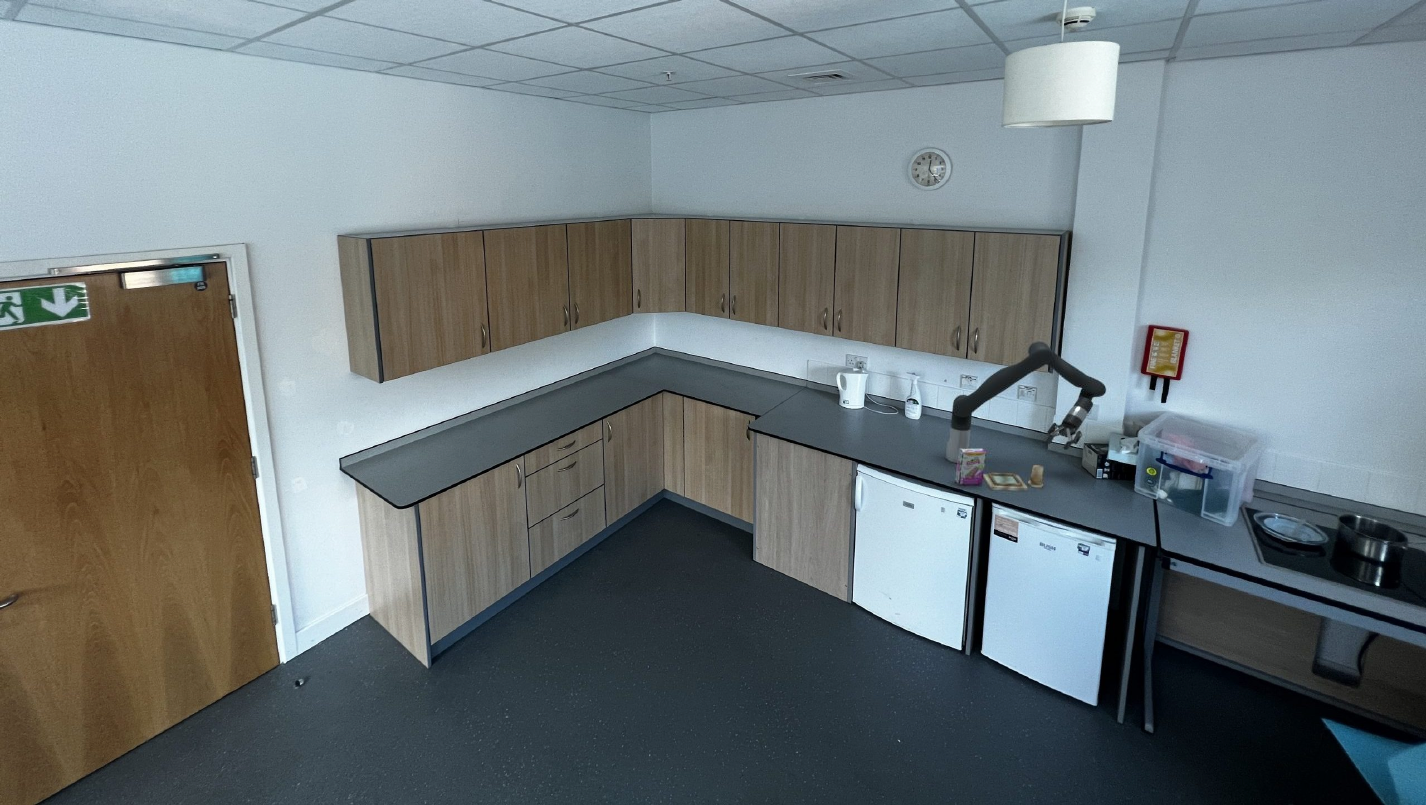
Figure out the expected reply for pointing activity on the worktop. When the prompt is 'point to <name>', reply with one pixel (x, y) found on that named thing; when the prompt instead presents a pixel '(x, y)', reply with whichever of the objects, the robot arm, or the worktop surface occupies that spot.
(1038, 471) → the beech bobbin
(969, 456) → the candy bar box
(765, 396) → the worktop surface
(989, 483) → the picture frame
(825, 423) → the worktop surface
